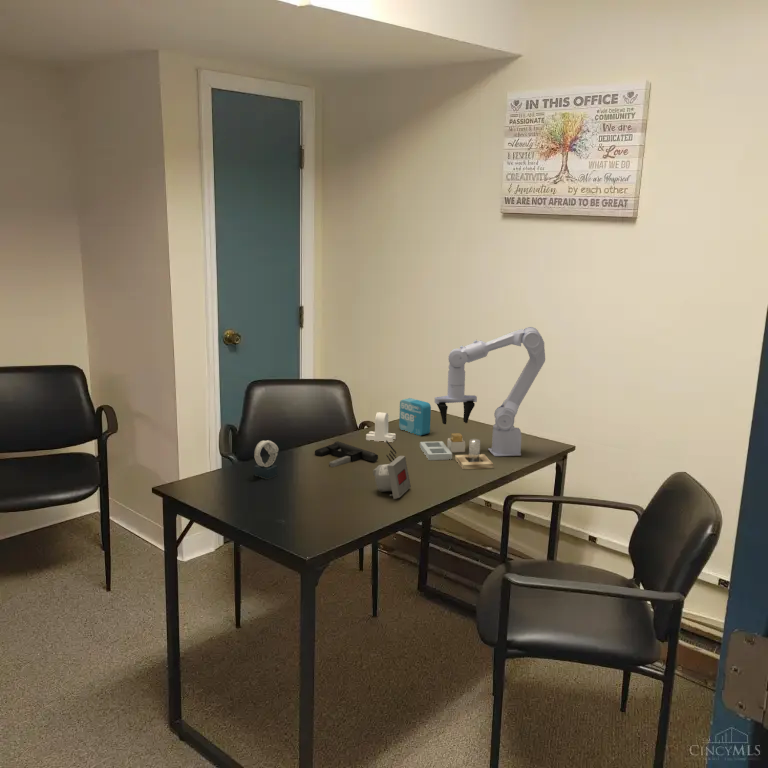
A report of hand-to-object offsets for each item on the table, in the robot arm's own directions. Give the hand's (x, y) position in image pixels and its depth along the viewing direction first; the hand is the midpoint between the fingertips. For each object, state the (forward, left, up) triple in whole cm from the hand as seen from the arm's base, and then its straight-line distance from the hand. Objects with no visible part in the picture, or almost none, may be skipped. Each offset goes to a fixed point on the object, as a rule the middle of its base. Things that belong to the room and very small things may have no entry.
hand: (454, 422), depth 245 cm
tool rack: (+7, +3, -10) cm, 12 cm away
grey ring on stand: (+64, +19, -10) cm, 67 cm away
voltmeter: (+27, +30, -10) cm, 41 cm away
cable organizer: (+23, -15, -10) cm, 30 cm away
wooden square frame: (-3, +15, -10) cm, 18 cm away
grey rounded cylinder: (-3, +15, -10) cm, 18 cm away
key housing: (-1, 0, -10) cm, 10 cm away
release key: (-1, 0, -7) cm, 7 cm away
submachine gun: (+39, +5, -11) cm, 41 cm away
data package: (+9, -23, -10) cm, 27 cm away
